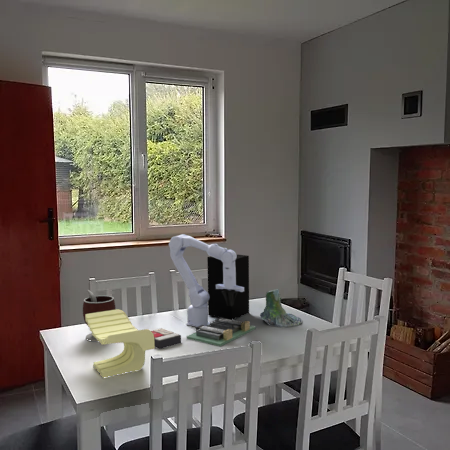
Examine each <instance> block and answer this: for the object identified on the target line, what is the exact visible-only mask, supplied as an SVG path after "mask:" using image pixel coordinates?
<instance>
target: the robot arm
mask: <svg viewBox="0 0 450 450" xmlns="http://www.w3.org/2000/svg"><path fill="white" fill-rule="evenodd" d="M168 247H169V254H170V255H169V256H170V259H171V260H172V263H173V265H174V267H175V268H176V270H177V271H178V273H179V275H180V277H181V279H182V280H183V283H184V284H185V286H186V287H187V289H188V297H189V300H190V301H189V302H190V304H191V305H189V306H188V308H187V315H186V316H187V323H186V325H187V326H191V327H192V326H193V327H195V328H196V327H198V326H200V325H204V326H209V325H210V323H212V322H211V321H209V315H208V301H209V298H210V296H209V294H208V290H205V288H204V287H203V286H202V285H201V284H199V282H198V281H197V279H196V276H195V274H194V273H193V271H192V270H191V268H190V266H189V264H188V263H187V261H186V259H185V258H184V253H185V250H186V248H188V247H189V248H190V247H192V248H195V249H198V250H201V251H203V252H206V254H207V255H208V257H210V256H212V257H214V258H216V259H219V260H221V261H222V262H223V284H217V285H216V289H223V291H222V294H223V296H224V298H225V300H226V304H227V306H229V305H230V306H233V305H234V301H235V297H236V295H237V293H238V291H240V292H244V287H241V286H237V285H236V268H235V260H236V258H237V253H236V251H235V250H233V249H228V248H227V247H222V246H219V244H218V243H211V244H207V243H206V242H204V241H202V240H199V239H197V238H194V237H193V236H191V235H187V234H185V233H181V234H179V235H174V236H172V237H171V238H170V240H169V242H168ZM233 261H234V262H233Z"/></svg>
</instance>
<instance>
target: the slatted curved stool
mask: <svg viewBox="0 0 450 450" xmlns="http://www.w3.org/2000/svg"><path fill="white" fill-rule="evenodd" d="M85 318H86V322H88V326H89V327H88V326H87V327H88V328H89V331H90V332H91V333H92V335H93V336H94V337H95V338H96V339H97V340H98V341H99V342H98V343H100V344H101V345H111V344H116V343H117V344H119V343H120V344H123V350H122V352H121V353H119V354H117V355H116V356H113V357H110V358H106V359H101V360H100V361H94V362H93V366H94V367H95V368H94V367H93V368H94V369H95V370H96V369H97V370H96V372H97V371H98V372H99V373H100V374H99V373H98V372H97V373H98V374H99V375H100V376H102V377H103V378H104V377H108V376H113V375H117V374H122V373H125V372H130V371H135V370H139V371H140V370H142V368H143V367H144V364H145V362H146V351H149V350H155V349H156V347H155V346H154V335H153V333H152V332H151V331H152V330H150V329H149V328H148V329H147V328H146V329H145V328H144V329H137V328H136V327H135V326H134V325H133V323H132V322H131V321H130V318H129V316H128V315H127V314H126V312H124V311H123V310H122V309H117V308H116V310H110V311H103V312H96V313H90V314H85ZM102 377H101V378H102ZM113 377H114V376H113ZM103 378H102V379H103ZM104 379H105V378H104Z"/></svg>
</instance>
